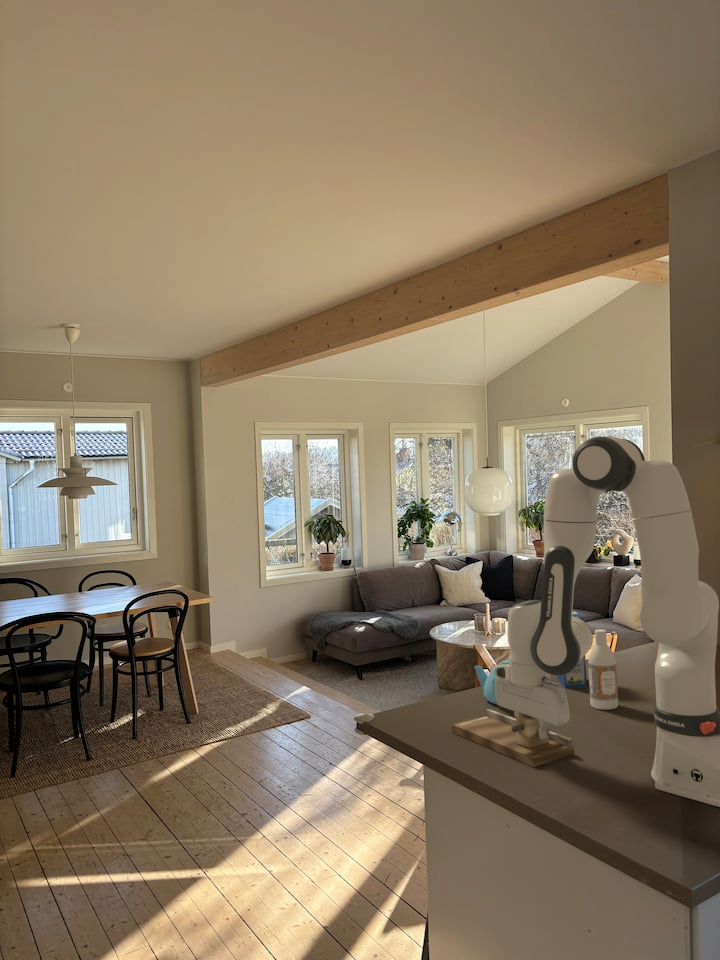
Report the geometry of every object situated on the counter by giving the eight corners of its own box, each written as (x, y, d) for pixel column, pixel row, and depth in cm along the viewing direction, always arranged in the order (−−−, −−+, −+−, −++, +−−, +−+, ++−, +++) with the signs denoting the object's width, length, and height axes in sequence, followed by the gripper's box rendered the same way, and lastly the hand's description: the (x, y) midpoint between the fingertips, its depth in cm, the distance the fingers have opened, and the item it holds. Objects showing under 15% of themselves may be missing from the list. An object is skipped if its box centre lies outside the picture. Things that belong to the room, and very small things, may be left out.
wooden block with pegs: (557, 740, 171) (556, 713, 171) (520, 750, 165) (519, 723, 165) (544, 735, 174) (543, 709, 174) (508, 745, 169) (507, 718, 169)
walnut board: (574, 754, 167) (573, 738, 167) (533, 767, 161) (532, 750, 161) (490, 722, 192) (490, 708, 192) (452, 732, 185) (452, 718, 185)
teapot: (548, 705, 203) (546, 665, 203) (494, 711, 200) (492, 670, 200) (524, 690, 218) (522, 652, 218) (474, 695, 215) (473, 657, 215)
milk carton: (557, 678, 228) (554, 612, 228) (578, 677, 228) (575, 611, 227) (565, 688, 218) (561, 618, 218) (586, 687, 218) (583, 617, 218)
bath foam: (597, 711, 196) (593, 634, 196) (586, 703, 203) (582, 628, 202) (623, 709, 197) (619, 631, 196) (610, 701, 203) (607, 626, 203)
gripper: (574, 680, 162) (578, 744, 162) (509, 662, 180) (512, 720, 180) (553, 685, 159) (556, 751, 159) (489, 667, 177) (492, 726, 177)
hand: (532, 734), depth 170 cm, fingers closed on wooden block with pegs, 4 cm apart
